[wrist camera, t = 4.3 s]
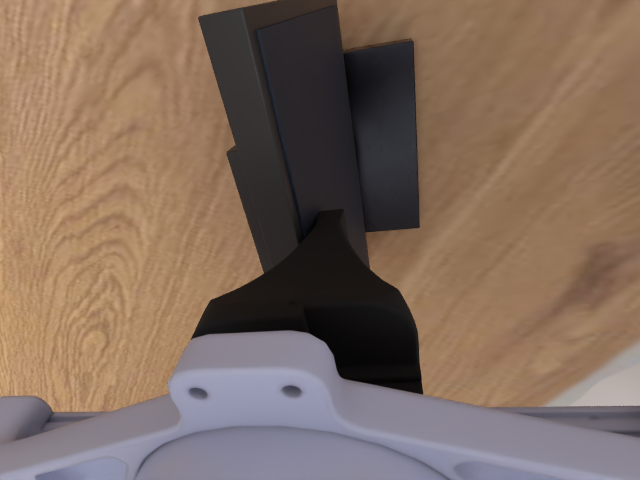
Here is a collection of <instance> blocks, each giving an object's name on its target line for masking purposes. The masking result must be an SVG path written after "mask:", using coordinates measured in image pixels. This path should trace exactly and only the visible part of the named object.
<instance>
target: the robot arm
mask: <svg viewBox="0 0 640 480" xmlns="http://www.w3.org/2000/svg"><path fill="white" fill-rule="evenodd" d="M421 381H422V380H421V370H420V363H419V341H418V331H417V328H416V324H415V321H414V319H413V316H412V314H411V312H410V309H409V307H408V306H407V304H406V302H405V300H404V298H403V296H402V295H401V293H400V291H399V290H398V289H397V288H395V287H394V286H392V285H390V284H388V283H387V282H385V281H383V280H382V279H381V278H379V277H378V276H377V275H376V274H375V273H374V272H373V271H371V270H370V269H369V268H368V267H367V266H366V265H365V264H364V262H363V261H362V260H361V259H360V258H359V256H358V255H357V254H356V252H355V251H354V249H353V248H352V246H351V244H350V242H349V239H348V232H347V226H346V219H345V213H344V209H336V210H327V211H322V212H320V213H319V215H318V217H317V221H316V226H315V227H314V228H313V230H312V231H311V232H310V233H309V234H308V236H307V237H306V238H305V239H304V240H303V241H302V242H301V243H300V244H299V245H298V247H297V248H296V249H295V250H294V251H293V252H291V253H290V254H289V255H288V256H287V257H286V258H285V259H283V260H282V261H281V262H280V263H278V264H277V265H276V266H274V267H273V268H271V269H270V270H269V271H267V272H266V273H264V274H263V275H261V276H260V277H258V278H256V279H255V280H253V281H251V282H249V283H248V284H246V285H244V286H242V287H240V288H238V289H236V290H234V291H231V292H229V293H227V294H224V295H222V296H220V297H217V298H215V299H212V300H210V302H209V304H208V305H207V307H206V309H205V311H204V313H203V315H202V317H201V319H200V321H199V323H198V325H197V327H196V330H195V332H194V334H193V336H192V338H191V341H190V342H189V344H188V345H187V346H186V347H185V349H184V351H183V353H182V355H181V357H180V359H179V361H178V363H177V365H176V367H175V369H174V371H173V373H172V375H171V377H170V379H169V381H168V383H167V384H168V389H169V394H165V395H162V396H159V397H156V398H153V399H149V400H146V401H143V402H140V403H137V404H134V405H130V406H127V407H124V408H121V409H118V410H114V411H111V412H53V411H52V409H51V407H50V406H49V405H48V404H47V403H46V402H45V401H44V400H43V399H41V398H39V397H36V396H3V397H0V480H640V406H580V407H483V406H478V405H473V404H468V403H463V402H458V401H453V400H447V399H442V398H437V397H432V396H427V395H423V389H422V382H421Z"/></svg>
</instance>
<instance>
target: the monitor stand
mask: <svg viewBox="0 0 640 480" xmlns="http://www.w3.org/2000/svg"><path fill="white" fill-rule="evenodd" d="M343 56H344V64H345V72H346V80H347V88H348V96H349V104H350V112H351V120H352V128H353V136H354V145H355V153H356V161H357V169H358V177H359V185H360V193H361V201H362V209H363V217H364V225H365V232H376V231H388V230H399V229H411V228H419V227H420V222H419V192H418V162H417V131H416V101H415V71H414V42H413V40H412V39H411V38H410V39H404V40H399V41H393V42H387V43H381V44H376V45H370V46H364V47H358V48H352V49H347V50H343Z"/></svg>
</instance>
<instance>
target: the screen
mask: <svg viewBox="0 0 640 480" xmlns="http://www.w3.org/2000/svg"><path fill="white" fill-rule="evenodd" d="M198 19H199V23H200V26H201V29H202V33H203V36H204V39H205V43H206V46H207V50H208V53H209V56H210V60H211V63H212V66H213V70H214V73H215V77H216V80H217V83H218V87H219V90H220V93H221V97H222V100H223V103H224V107H225V110H226V114H227V117H228V120H229V124H230V127H231V130H232V134H233V137H234V140H235V144H236V145H235V146H234V147H232V148H231V149H230V150H229V151H227V157H228V160H229V163H230V166H231V170H232V173H233V176H234V179H235V182H236V186H237V189H238V192H239V195H240V198H241V201H242V205H243V208H244V211H245V214H246V217H247V220H248V224H249V227H250V230H251V233H252V236H253V240H254V243H255V246H256V249H257V252H258V255H259V259H260V262H261V265H262V268H263V271H264V273H266V272H267V271H269V270H270V269H271V268H273V267H274V266H276V265H277V264H278V263H280V262H281V261H282V260H283V259H285V258H286V257H287V256H288V255H289V254H290V253H291V252H293V251H294V250H295V249H296V248H297V247H298V245H299V244H300V243H301V242H302V241H303V240H304V239H305V238H306V237H307V236H308V234H309V233H310V232H311V231H312V230H313V228H314V227H315V226H316V221H317V217H318V215H319V213H320V212H322V211H327V210H336V209H344V213H345V219H346V226H347V232H348V239H349V242H350V244H351V246H352V248H353V249H354V251H355V252H356V254H357V255H358V256H359V258H360V259H361V260H362V261H363V262H364V264H365V265H366V266H367V267H368V268H369V269H370V265H369V257H368V249H367V241H366V233H365V225H364V217H363V209H362V201H361V193H360V185H359V177H358V169H357V161H356V153H355V145H354V136H353V128H352V120H351V112H350V104H349V96H348V88H347V80H346V72H345V64H344V56H343V48H342V40H341V32H340V24H339V16H338V8H337V0H278V1H273V2H268V3H263V4H258V5H252V6H247V7H242V8H237V9H232V10H227V11H222V12H218V13H213V14H208V15H203V16H199V17H198Z"/></svg>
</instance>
